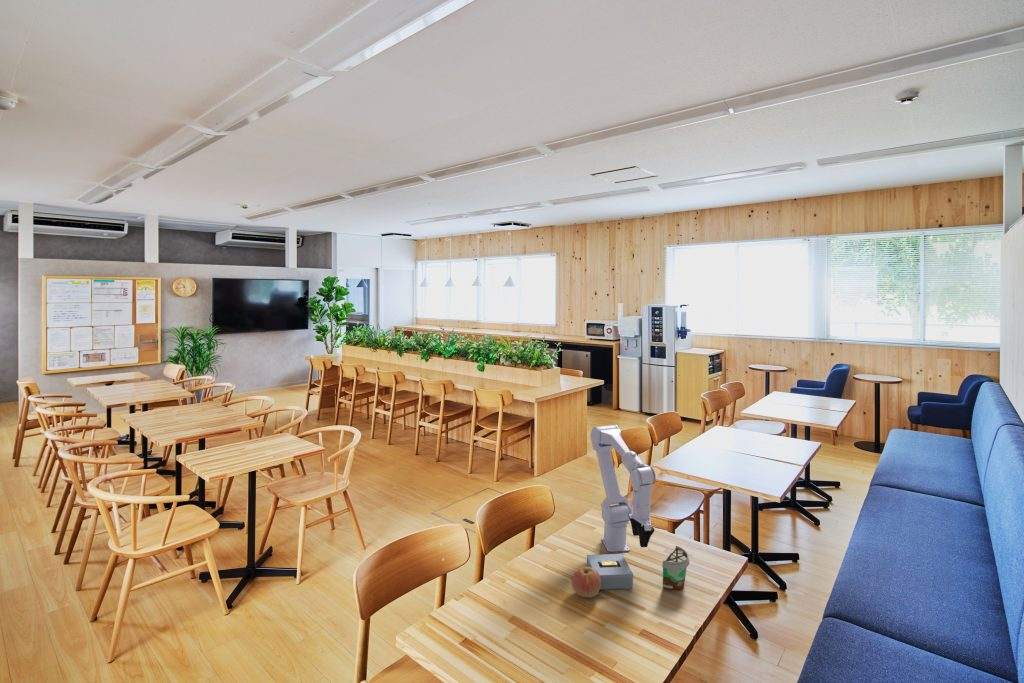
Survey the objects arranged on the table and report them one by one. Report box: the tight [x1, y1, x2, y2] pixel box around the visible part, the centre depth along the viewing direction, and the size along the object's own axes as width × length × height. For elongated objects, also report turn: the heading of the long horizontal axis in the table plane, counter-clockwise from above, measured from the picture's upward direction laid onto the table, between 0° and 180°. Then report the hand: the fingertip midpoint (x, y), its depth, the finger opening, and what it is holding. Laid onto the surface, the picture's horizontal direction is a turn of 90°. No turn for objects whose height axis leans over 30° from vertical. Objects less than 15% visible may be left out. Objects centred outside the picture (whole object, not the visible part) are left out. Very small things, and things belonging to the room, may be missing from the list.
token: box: [601, 561, 618, 568], centre depth 168 cm, size 2×5×5 cm, turn 94°
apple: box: [571, 566, 601, 599], centre depth 159 cm, size 9×9×8 cm
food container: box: [661, 545, 690, 592], centre depth 165 cm, size 12×6×10 cm, turn 143°
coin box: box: [586, 553, 634, 591], centre depth 168 cm, size 12×12×5 cm
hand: (639, 540), depth 174 cm, fingers open, 7 cm apart
